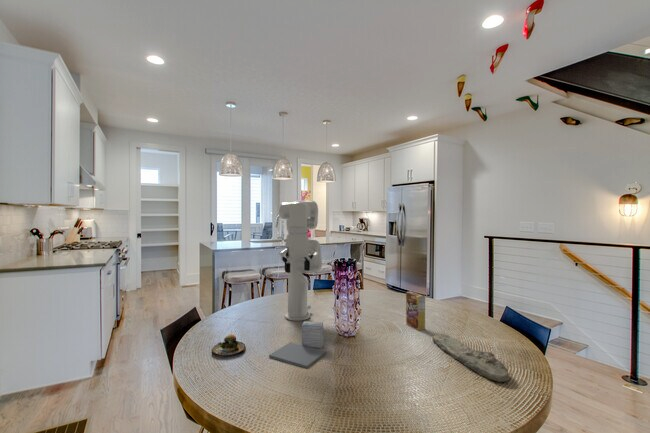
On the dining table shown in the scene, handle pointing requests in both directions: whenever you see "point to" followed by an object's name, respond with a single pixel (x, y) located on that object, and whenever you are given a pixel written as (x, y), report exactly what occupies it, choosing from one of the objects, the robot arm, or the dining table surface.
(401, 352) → the dining table surface
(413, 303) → the candy box
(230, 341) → the burger
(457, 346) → the long grey stone
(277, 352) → the mat
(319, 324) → the medicine box
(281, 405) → the dining table surface
